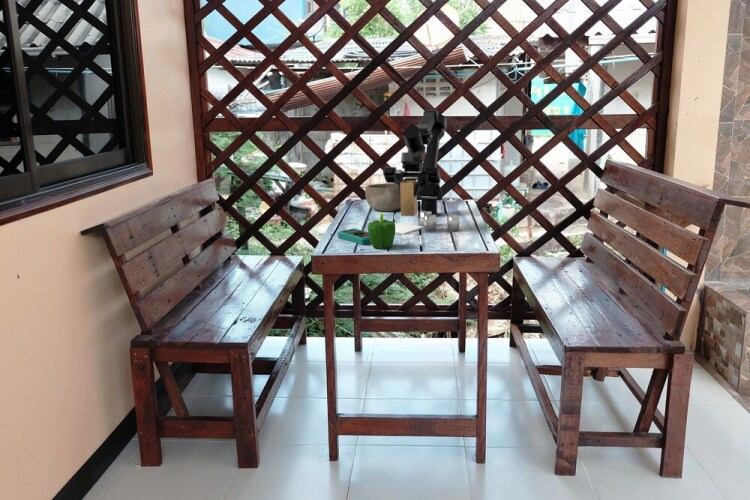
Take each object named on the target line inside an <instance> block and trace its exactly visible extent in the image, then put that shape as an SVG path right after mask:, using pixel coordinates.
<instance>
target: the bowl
mask: <svg viewBox="0 0 750 500" xmlns="http://www.w3.org/2000/svg"><path fill="white" fill-rule="evenodd" d="M364 190H365V193H364V194H365V200H366V203H367V204H368V206H369V207H370V208H371V209H373V210H375V211H378V212H393V211H399V210H401V196H400V193H399V186H398V185H397V184H396V183H387V182H386V183H375V184H370V185H366V187H365V189H364Z"/></svg>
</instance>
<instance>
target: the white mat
mask: <svg viewBox="0 0 750 500" xmlns="http://www.w3.org/2000/svg"><path fill="white" fill-rule="evenodd" d="M394 223H395V222H394ZM421 229H424V226H420V225H413V224H405V223H397V222H396V223H395V234H396V235H398V234H399V235H407V234H410V233H414V232H417V231H418V230H421Z"/></svg>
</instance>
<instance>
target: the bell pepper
mask: <svg viewBox="0 0 750 500" xmlns="http://www.w3.org/2000/svg"><path fill="white" fill-rule="evenodd" d="M367 232H368V235H369V239H370V242H371V244H370V245H371V246H372V248H375V249H382V248H384V249H387V248H389V249H390V248H392V246H393V244H394V242H395V241H394V240H395V237H396V233H395V221H392V220H387V219H384V214H383V213H380V215H379V220H378V219H374V220H372V221H371V222H368V225H367Z"/></svg>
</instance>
